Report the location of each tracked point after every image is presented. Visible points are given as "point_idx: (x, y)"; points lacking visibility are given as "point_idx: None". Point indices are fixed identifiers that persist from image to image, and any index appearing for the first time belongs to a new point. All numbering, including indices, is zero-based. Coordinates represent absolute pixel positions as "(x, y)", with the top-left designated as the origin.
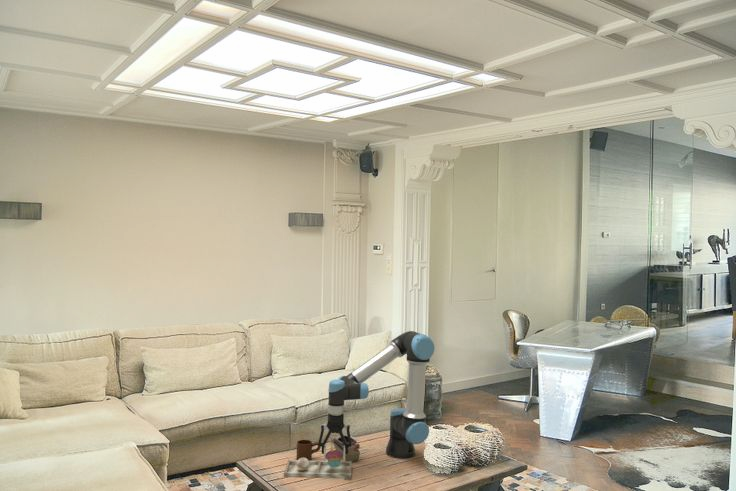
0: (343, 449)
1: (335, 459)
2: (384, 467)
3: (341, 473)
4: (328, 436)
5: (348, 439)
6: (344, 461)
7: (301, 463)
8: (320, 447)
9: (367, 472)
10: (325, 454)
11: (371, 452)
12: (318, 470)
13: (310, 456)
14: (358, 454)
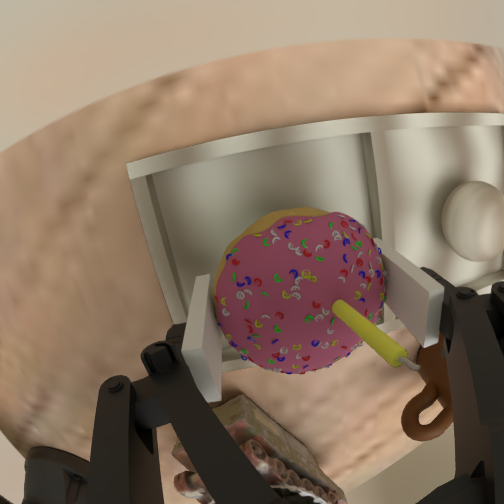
0: (269, 456)
1: (274, 214)
2: (46, 374)
3: (200, 159)
4: (489, 396)
5: (120, 449)
6: (199, 277)
7: (492, 188)
8: (403, 423)
9: (83, 303)
10: (392, 262)
11: (168, 482)
12: (380, 177)
13: (434, 360)
14: (178, 441)
